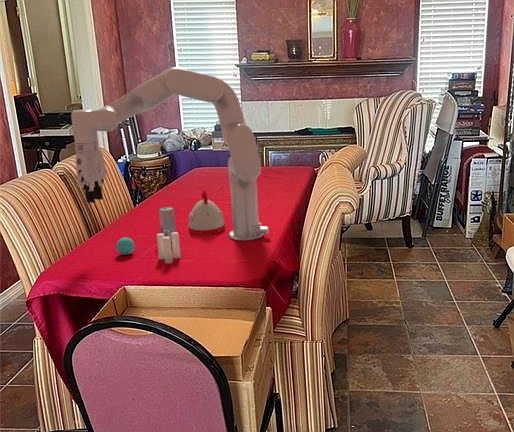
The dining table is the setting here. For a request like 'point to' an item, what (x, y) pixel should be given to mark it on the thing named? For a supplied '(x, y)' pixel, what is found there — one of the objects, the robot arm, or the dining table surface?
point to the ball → (125, 246)
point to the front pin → (160, 246)
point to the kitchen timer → (205, 217)
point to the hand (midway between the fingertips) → (94, 200)
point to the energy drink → (167, 221)
